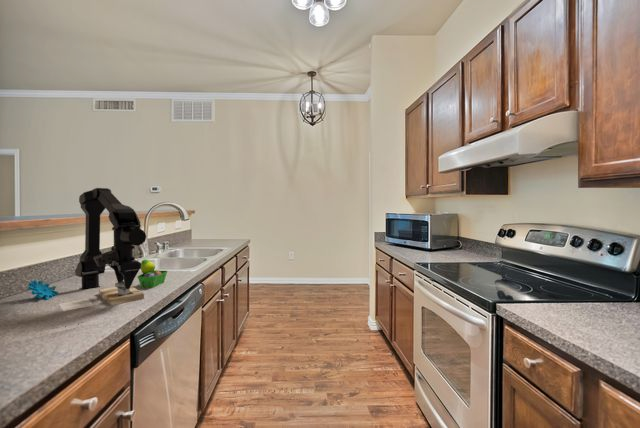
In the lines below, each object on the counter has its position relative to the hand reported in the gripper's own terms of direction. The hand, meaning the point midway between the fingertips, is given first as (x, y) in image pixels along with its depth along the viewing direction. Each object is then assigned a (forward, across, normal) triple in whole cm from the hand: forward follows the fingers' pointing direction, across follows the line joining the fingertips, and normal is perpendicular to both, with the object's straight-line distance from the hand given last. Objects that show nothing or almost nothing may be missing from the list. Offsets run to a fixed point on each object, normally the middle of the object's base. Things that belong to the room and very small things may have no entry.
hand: (123, 286), depth 109 cm
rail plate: (+6, -4, 0) cm, 7 cm away
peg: (+6, 0, 0) cm, 6 cm away
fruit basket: (+6, -18, +15) cm, 24 cm away
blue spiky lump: (+6, -22, -19) cm, 30 cm away
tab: (+6, -4, -13) cm, 15 cm away
